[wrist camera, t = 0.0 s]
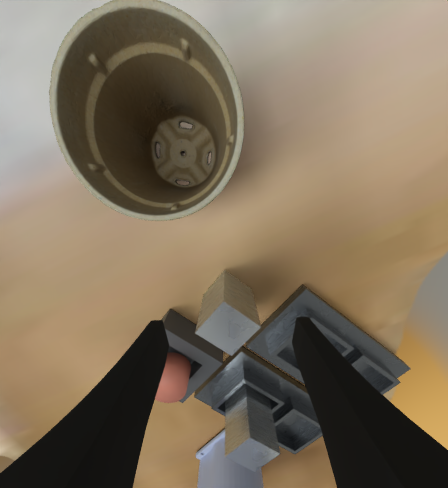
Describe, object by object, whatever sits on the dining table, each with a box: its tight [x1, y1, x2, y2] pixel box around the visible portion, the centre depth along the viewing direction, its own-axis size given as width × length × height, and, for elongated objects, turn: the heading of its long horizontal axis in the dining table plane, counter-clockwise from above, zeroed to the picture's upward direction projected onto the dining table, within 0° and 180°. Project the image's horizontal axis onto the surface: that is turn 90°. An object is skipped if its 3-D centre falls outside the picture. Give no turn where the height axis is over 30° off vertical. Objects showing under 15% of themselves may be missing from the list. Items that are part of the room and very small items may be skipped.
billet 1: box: [195, 270, 261, 356], centre depth 19 cm, size 4×4×6 cm
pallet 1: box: [194, 346, 323, 454], centre depth 25 cm, size 10×18×2 cm, turn 52°
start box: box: [161, 309, 223, 403], centre depth 23 cm, size 8×8×3 cm
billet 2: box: [225, 384, 280, 472], centre depth 22 cm, size 4×4×6 cm
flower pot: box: [49, 0, 244, 221], centre depth 13 cm, size 9×9×9 cm
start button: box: [155, 352, 191, 403], centre depth 20 cm, size 4×4×2 cm
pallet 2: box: [246, 284, 410, 395], centre depth 23 cm, size 10×18×2 cm, turn 52°
